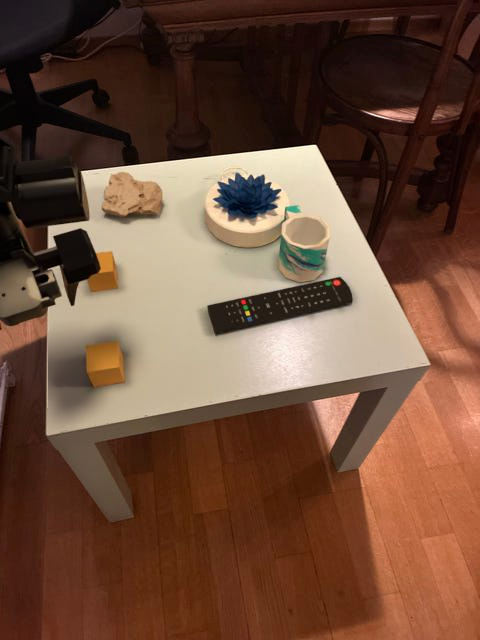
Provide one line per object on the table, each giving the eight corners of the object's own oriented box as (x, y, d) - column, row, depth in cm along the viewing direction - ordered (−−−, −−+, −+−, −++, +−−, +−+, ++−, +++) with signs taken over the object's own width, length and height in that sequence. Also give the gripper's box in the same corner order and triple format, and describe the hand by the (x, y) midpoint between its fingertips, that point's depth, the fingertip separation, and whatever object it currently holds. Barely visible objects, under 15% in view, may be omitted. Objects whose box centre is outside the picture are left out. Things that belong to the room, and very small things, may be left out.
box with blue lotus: (302, 213, 84) (271, 144, 95) (214, 226, 81) (192, 154, 92) (297, 241, 89) (268, 173, 101) (214, 254, 87) (194, 183, 98)
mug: (283, 284, 83) (287, 250, 76) (267, 236, 90) (269, 200, 83) (329, 277, 84) (337, 243, 77) (310, 230, 91) (315, 194, 84)
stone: (122, 186, 97) (117, 165, 93) (170, 206, 94) (167, 185, 90) (94, 213, 92) (88, 192, 88) (143, 234, 90) (139, 214, 85)
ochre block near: (124, 382, 72) (119, 367, 68) (93, 387, 71) (86, 372, 68) (122, 356, 74) (117, 340, 71) (93, 361, 74) (86, 345, 70)
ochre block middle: (118, 288, 82) (113, 271, 78) (91, 292, 81) (84, 274, 78) (117, 268, 85) (112, 250, 81) (90, 272, 84) (84, 254, 80)
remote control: (207, 310, 80) (207, 305, 79) (341, 281, 84) (343, 276, 83) (215, 336, 77) (215, 331, 76) (354, 304, 81) (355, 299, 80)
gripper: (-104, 314, 43) (-30, 393, 56) (100, 252, 49) (125, 337, 61) (-112, 233, 49) (-43, 322, 62) (71, 185, 54) (100, 276, 67)
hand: (36, 315), depth 63 cm, fingers open, 9 cm apart
